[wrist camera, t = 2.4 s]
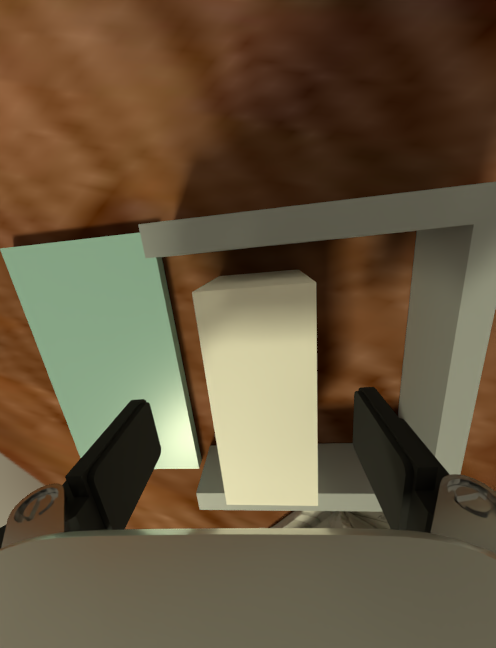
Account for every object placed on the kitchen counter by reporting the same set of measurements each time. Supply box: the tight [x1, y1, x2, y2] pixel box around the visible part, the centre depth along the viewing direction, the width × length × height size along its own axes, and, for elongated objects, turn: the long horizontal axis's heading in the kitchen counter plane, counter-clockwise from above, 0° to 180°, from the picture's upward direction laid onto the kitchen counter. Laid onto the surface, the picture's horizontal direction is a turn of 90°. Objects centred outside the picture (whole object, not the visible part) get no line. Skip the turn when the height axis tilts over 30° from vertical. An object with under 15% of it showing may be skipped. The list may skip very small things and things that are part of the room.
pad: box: [0, 233, 202, 469], centre depth 18 cm, size 10×18×1 cm, turn 6°
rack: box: [138, 182, 496, 512], centre depth 15 cm, size 16×18×4 cm
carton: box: [192, 269, 318, 506], centre depth 14 cm, size 5×12×6 cm, turn 5°
